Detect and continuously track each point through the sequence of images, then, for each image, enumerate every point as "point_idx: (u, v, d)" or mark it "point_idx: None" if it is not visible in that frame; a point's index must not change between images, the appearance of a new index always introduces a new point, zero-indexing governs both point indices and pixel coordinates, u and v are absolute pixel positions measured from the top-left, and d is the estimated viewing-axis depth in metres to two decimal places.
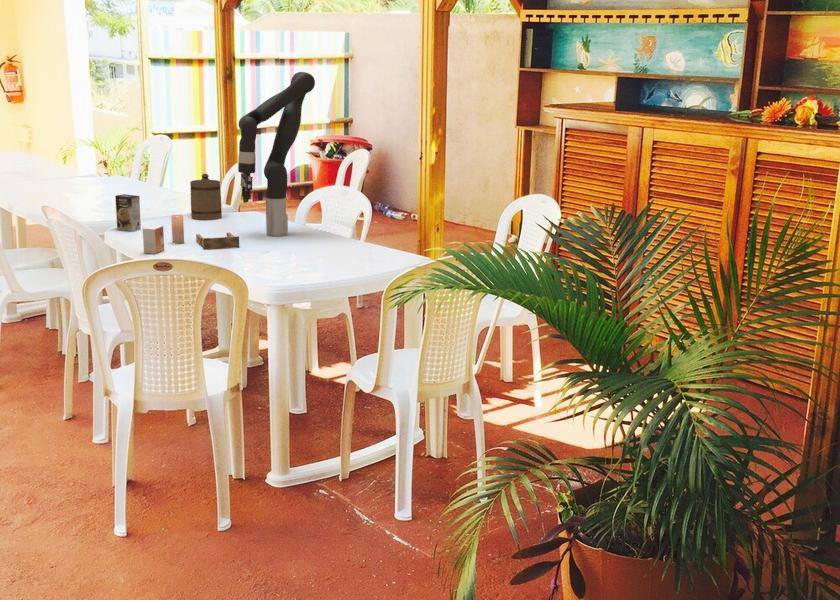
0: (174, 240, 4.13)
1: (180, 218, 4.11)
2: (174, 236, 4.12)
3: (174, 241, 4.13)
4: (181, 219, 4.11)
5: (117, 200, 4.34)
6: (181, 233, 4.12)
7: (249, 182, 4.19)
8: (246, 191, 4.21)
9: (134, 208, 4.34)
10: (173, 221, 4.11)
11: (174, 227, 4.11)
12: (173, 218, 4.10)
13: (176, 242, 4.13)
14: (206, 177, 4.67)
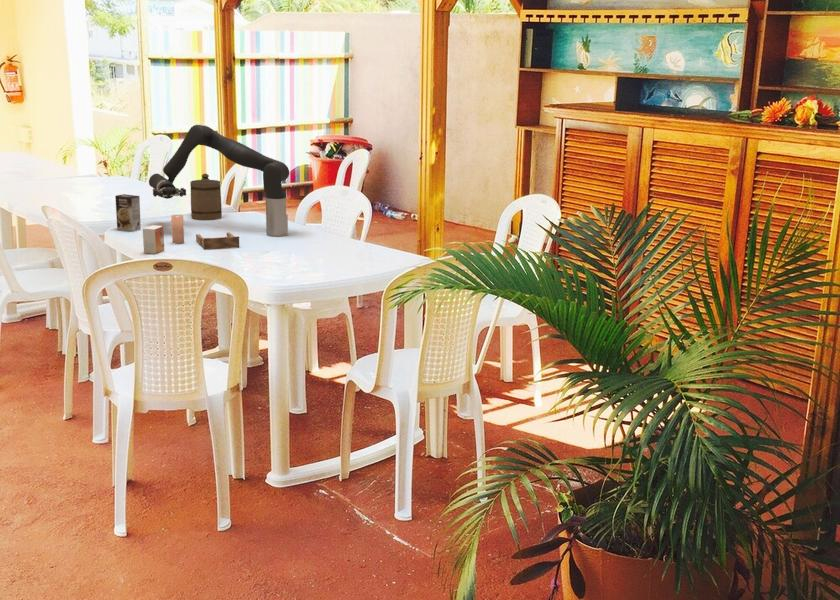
0: (174, 240, 4.13)
1: (180, 218, 4.11)
2: (174, 236, 4.12)
3: (174, 241, 4.13)
4: (181, 219, 4.11)
5: (117, 200, 4.34)
6: (181, 233, 4.12)
7: (153, 192, 4.24)
8: (160, 195, 4.21)
9: (134, 208, 4.34)
10: (173, 221, 4.11)
11: (174, 227, 4.11)
12: (173, 218, 4.10)
13: (176, 242, 4.13)
14: (206, 177, 4.67)
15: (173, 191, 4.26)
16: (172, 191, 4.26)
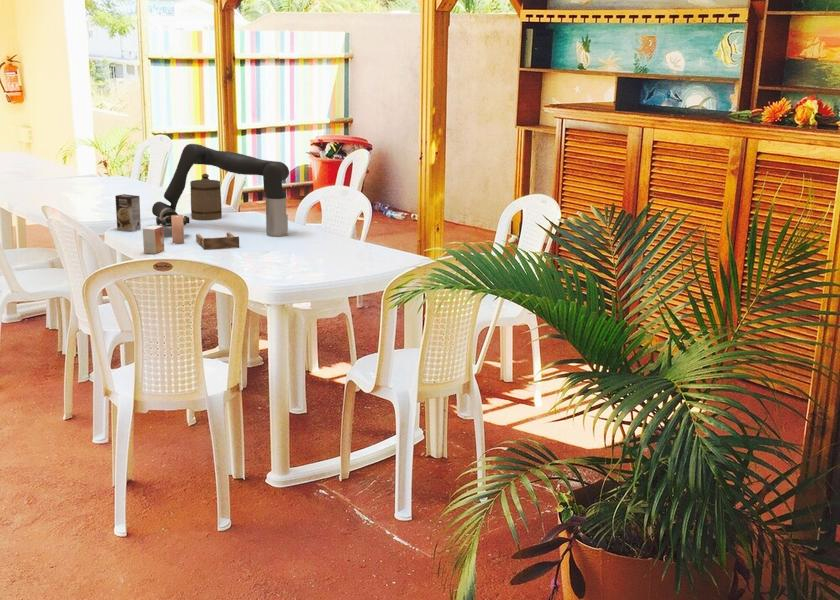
0: (174, 240, 4.13)
1: (180, 218, 4.11)
2: (174, 236, 4.12)
3: (174, 241, 4.13)
4: (181, 219, 4.11)
5: (117, 200, 4.34)
6: (181, 233, 4.12)
7: (156, 221, 4.23)
8: None
9: (134, 208, 4.34)
10: (173, 221, 4.11)
11: (174, 227, 4.11)
12: (173, 218, 4.10)
13: (176, 242, 4.13)
14: (206, 177, 4.67)
15: None
16: None
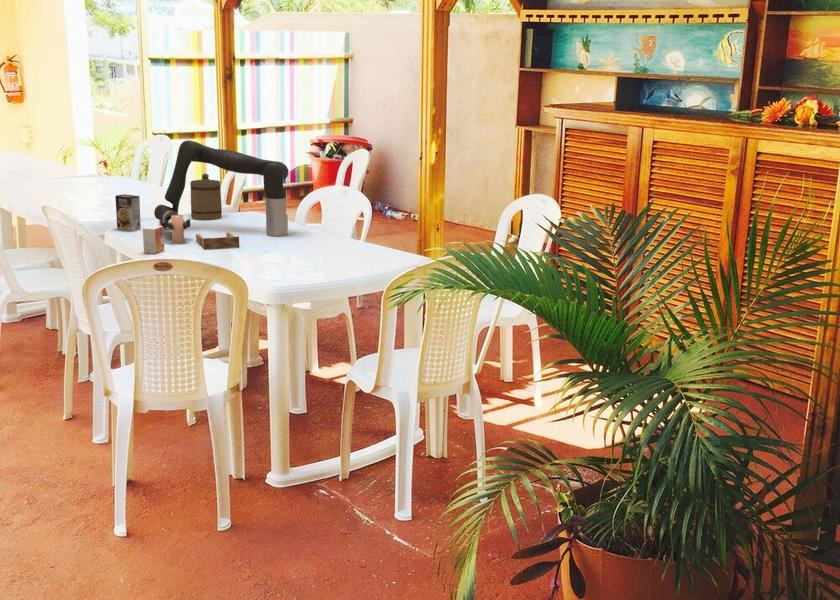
0: (174, 240, 4.13)
1: (180, 218, 4.11)
2: (174, 236, 4.12)
3: (174, 241, 4.13)
4: (181, 219, 4.11)
5: (117, 200, 4.34)
6: (181, 233, 4.12)
7: (161, 224, 4.15)
8: None
9: (134, 208, 4.34)
10: (173, 221, 4.11)
11: (174, 227, 4.11)
12: (173, 218, 4.10)
13: (176, 242, 4.13)
14: (206, 177, 4.67)
15: None
16: None
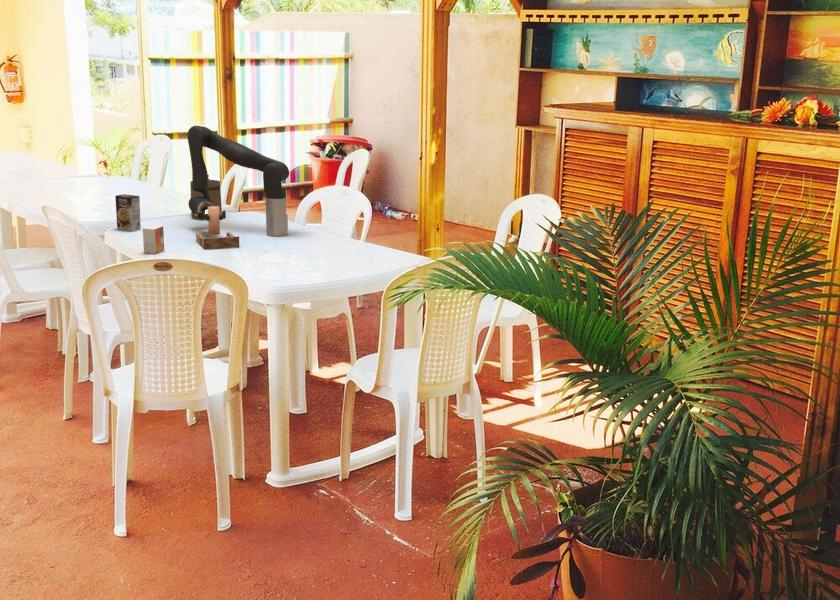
0: (210, 231, 4.15)
1: (217, 209, 4.13)
2: (210, 227, 4.14)
3: (210, 232, 4.15)
4: (217, 210, 4.13)
5: (117, 200, 4.34)
6: (217, 224, 4.15)
7: (197, 215, 4.17)
8: (206, 218, 4.15)
9: (134, 208, 4.34)
10: (210, 212, 4.13)
11: (210, 218, 4.13)
12: (210, 209, 4.12)
13: (212, 233, 4.15)
14: None
15: None
16: None
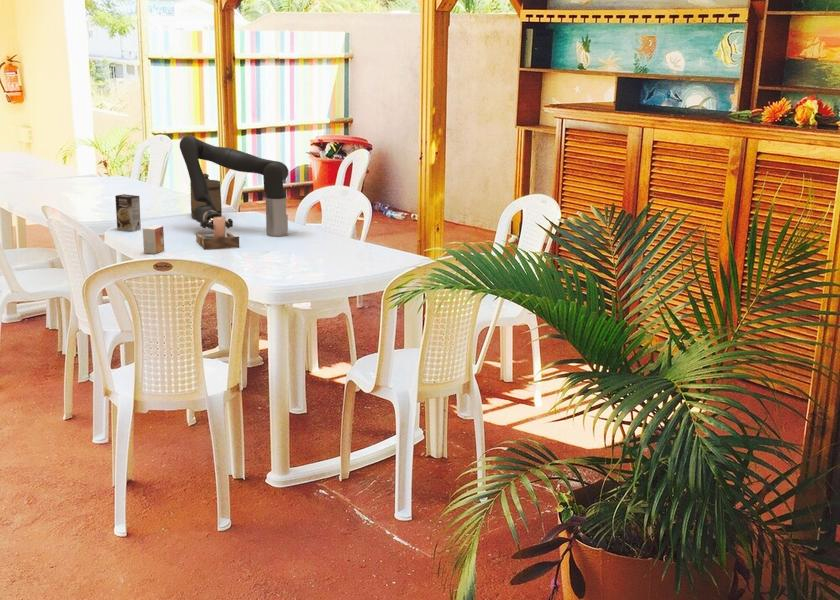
0: None
1: (222, 220, 4.05)
2: None
3: None
4: (223, 221, 4.05)
5: (117, 200, 4.34)
6: (223, 236, 4.07)
7: (201, 224, 4.09)
8: None
9: (134, 208, 4.34)
10: (215, 223, 4.05)
11: (216, 229, 4.05)
12: (215, 220, 4.04)
13: None
14: (206, 177, 4.67)
15: None
16: None
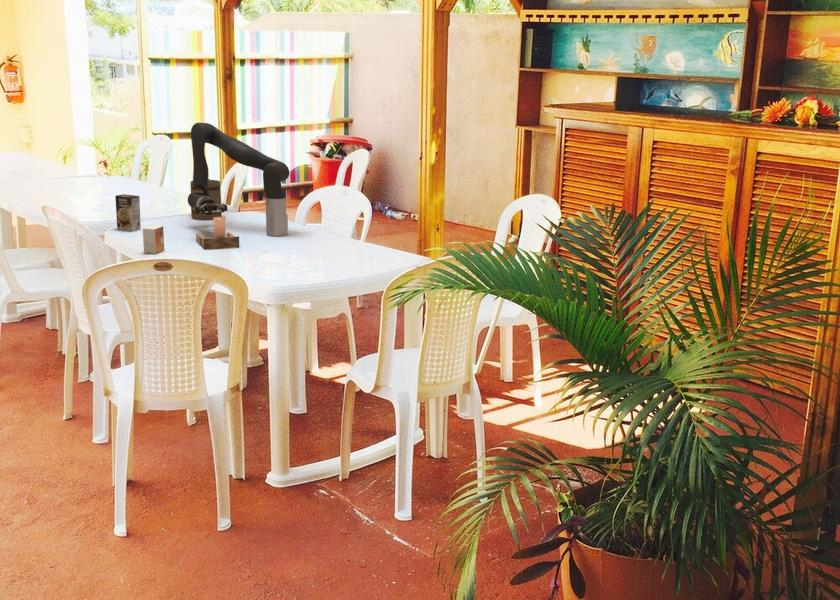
0: None
1: (222, 220, 4.05)
2: None
3: None
4: (223, 221, 4.06)
5: (117, 200, 4.34)
6: (223, 235, 4.07)
7: (194, 209, 4.21)
8: None
9: (134, 208, 4.34)
10: (215, 223, 4.05)
11: (216, 229, 4.05)
12: (215, 220, 4.05)
13: None
14: None
15: (214, 207, 4.23)
16: (213, 207, 4.23)
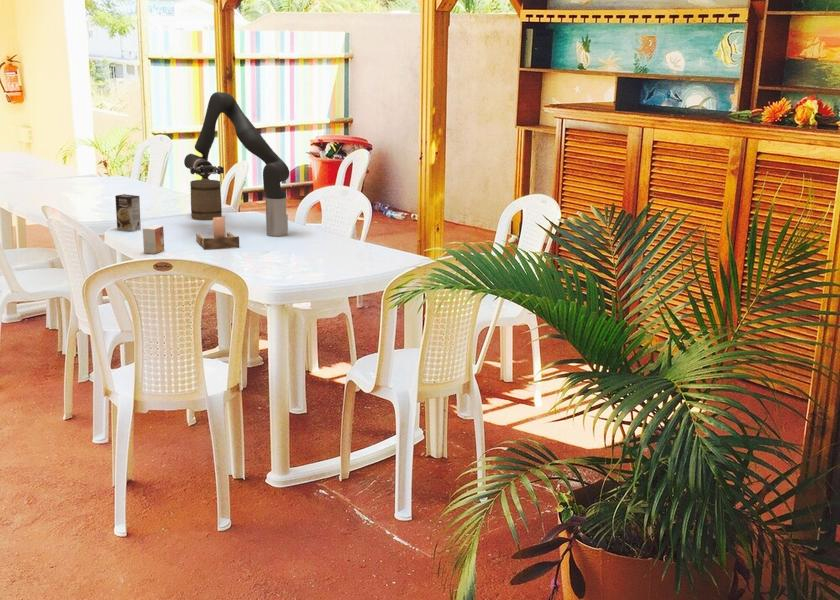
0: None
1: (222, 220, 4.05)
2: None
3: None
4: (223, 221, 4.06)
5: (117, 200, 4.34)
6: (222, 235, 4.07)
7: (190, 170, 4.20)
8: (197, 173, 4.18)
9: (134, 208, 4.34)
10: (215, 223, 4.05)
11: (216, 229, 4.06)
12: (215, 220, 4.05)
13: None
14: (206, 177, 4.67)
15: (211, 169, 4.22)
16: (210, 169, 4.22)
